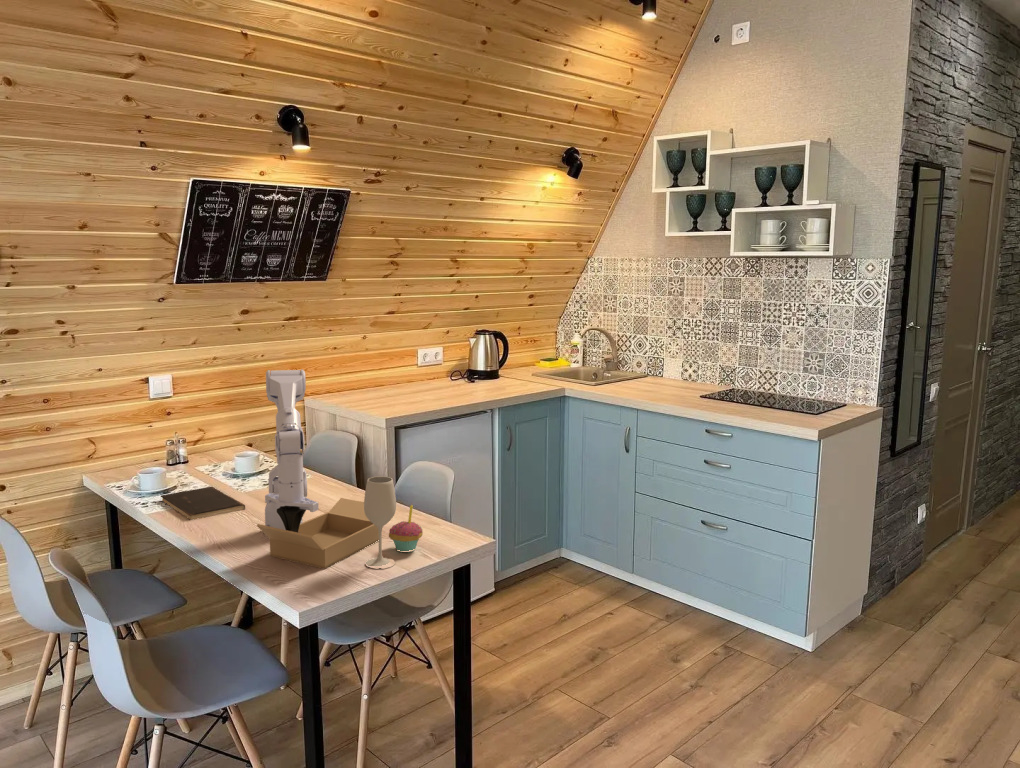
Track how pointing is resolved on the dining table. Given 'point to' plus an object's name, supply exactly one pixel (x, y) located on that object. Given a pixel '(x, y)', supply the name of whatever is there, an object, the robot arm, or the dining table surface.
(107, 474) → the dining table surface
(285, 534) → the flap
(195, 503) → the hardcover book
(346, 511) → the flap
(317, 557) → the carton
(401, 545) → the cupcake
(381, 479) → the wineglass
